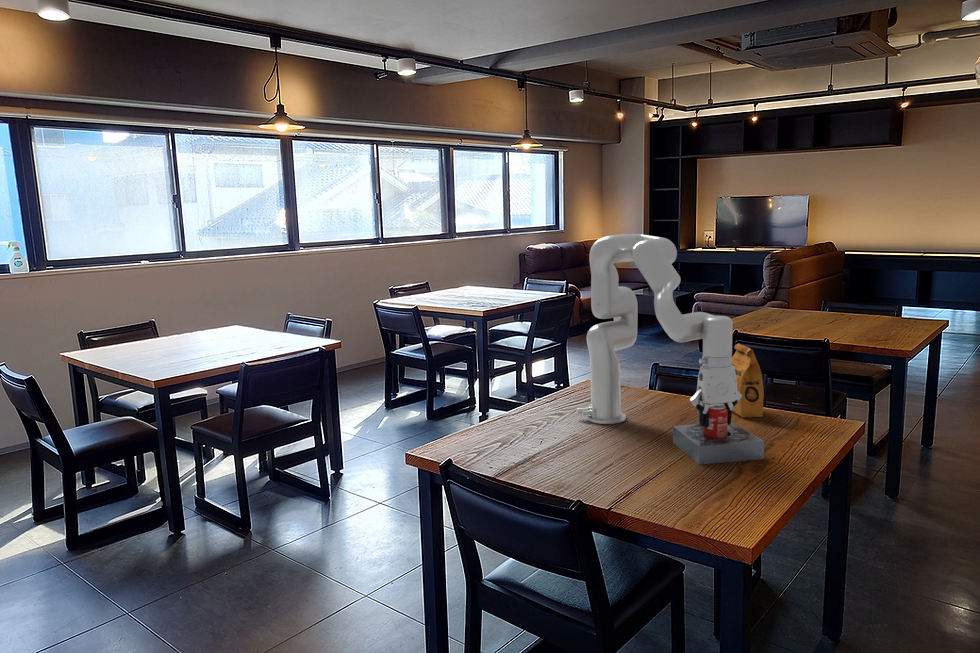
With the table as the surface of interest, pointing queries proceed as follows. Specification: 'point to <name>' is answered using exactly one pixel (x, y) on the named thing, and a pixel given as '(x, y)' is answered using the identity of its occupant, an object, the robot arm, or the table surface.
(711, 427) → the beverage can
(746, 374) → the coffee package
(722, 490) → the table surface
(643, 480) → the table surface
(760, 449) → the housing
